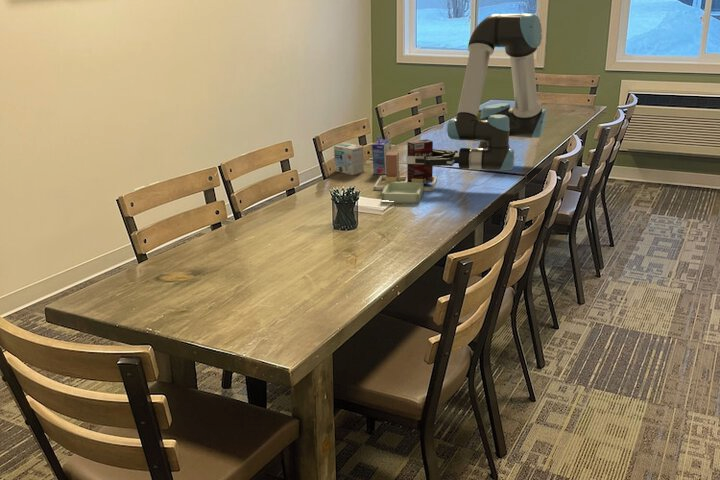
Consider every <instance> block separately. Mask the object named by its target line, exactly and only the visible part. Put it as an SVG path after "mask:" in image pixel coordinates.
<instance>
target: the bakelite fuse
mask: <svg viewBox="0 0 720 480" xmlns="http://www.w3.org/2000/svg"><path fill="white" fill-rule="evenodd" d="M399 171H400V153H399V151H398V150H397V151H396V150H395V151H393V150H391V151H388V153H387V154H386V174H385V176H386V177H397V182H399Z"/></svg>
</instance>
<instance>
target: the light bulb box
mask: <svg viewBox="0 0 720 480" xmlns="http://www.w3.org/2000/svg"><path fill="white" fill-rule="evenodd" d="M333 149H334V150H333V151H334V152H333V153H334V171H335V172H338V173H343V174H346V175H351V176H354V175H358V174H361V173H364V172H365V169H364V168H365V166H364V165H365V164H364V162H365V161H364V145H360V144H359V145H358V144H354V143H353V144H352V143H347V142H343V143H339V144H336V145H334V147H333Z"/></svg>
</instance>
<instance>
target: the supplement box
mask: <svg viewBox="0 0 720 480" xmlns="http://www.w3.org/2000/svg"><path fill="white" fill-rule="evenodd" d="M433 141H434V140H433ZM433 141H432V140H430V139H421V140H420V139H419V140H414V141H407V142H406V143H407V144H406V145H407V146H406V147H407V149H406V150H407V151H406V152H407V156H426V157H433V149H434V147H433V146H434V145H433V143H434V142H433ZM407 156H406V157H407ZM428 162H429V161H428ZM406 164H407V163H406ZM406 166H407V169H406V171H407V175H406V176H407V182H412V179H423V185H425V184H431V183H432V184H433V180H432V178H433V176H434V175H433V172H434V171H433V167H434V166H425V165H424V164H407V165H406Z"/></svg>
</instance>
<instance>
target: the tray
mask: <svg viewBox="0 0 720 480" xmlns="http://www.w3.org/2000/svg"><path fill="white" fill-rule="evenodd" d="M384 186H385V188H384V190H381V191H382V192H381V193H380V194H381V196H380V197H381V200H389V201H394V202H395V203H394V204H420V202H421V199H422V196H423V193H424V191H423V187H424V184H423V183H420V182H405V181H400V182H388V183H387V184H386V183H385V185H384Z"/></svg>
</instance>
